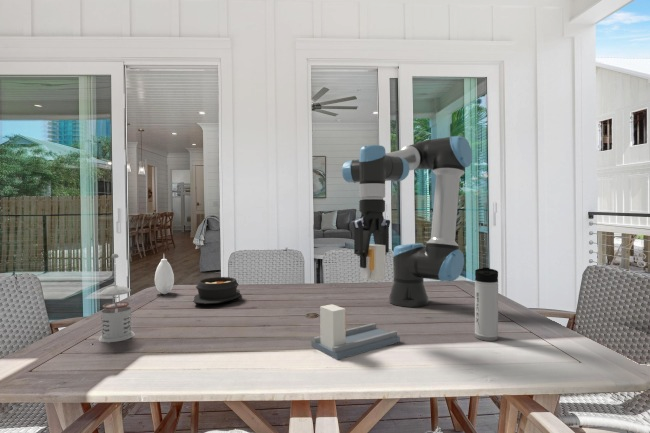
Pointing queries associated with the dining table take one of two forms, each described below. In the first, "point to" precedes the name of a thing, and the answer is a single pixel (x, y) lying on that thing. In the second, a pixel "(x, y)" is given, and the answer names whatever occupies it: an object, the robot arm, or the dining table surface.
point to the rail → (348, 335)
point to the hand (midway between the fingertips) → (371, 277)
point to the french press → (116, 315)
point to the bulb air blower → (164, 277)
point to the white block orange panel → (377, 261)
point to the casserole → (216, 290)
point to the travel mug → (486, 304)
